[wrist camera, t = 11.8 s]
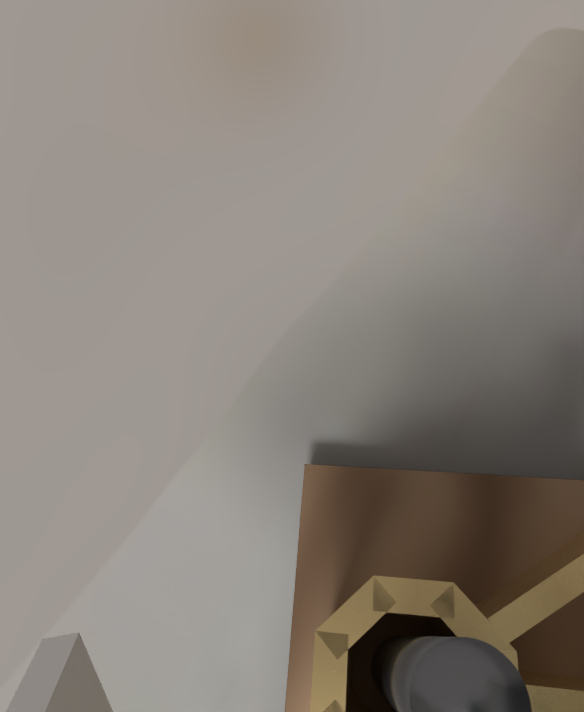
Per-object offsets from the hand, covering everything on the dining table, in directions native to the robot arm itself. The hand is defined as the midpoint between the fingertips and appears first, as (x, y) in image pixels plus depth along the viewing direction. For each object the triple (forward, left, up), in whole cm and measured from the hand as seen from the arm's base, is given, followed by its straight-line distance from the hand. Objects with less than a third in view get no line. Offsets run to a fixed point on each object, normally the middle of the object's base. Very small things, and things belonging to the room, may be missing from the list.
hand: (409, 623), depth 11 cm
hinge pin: (0, +2, -13) cm, 13 cm away
